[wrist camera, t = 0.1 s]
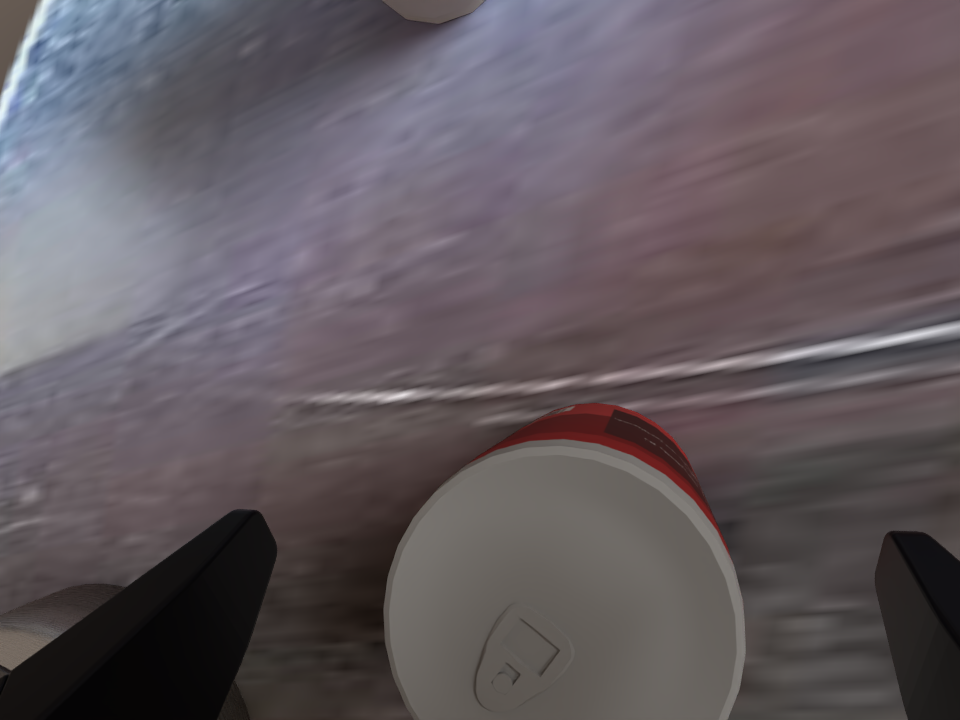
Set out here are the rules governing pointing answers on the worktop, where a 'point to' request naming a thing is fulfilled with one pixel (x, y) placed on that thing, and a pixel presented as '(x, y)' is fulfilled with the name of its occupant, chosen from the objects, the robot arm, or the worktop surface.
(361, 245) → the worktop surface
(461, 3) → the foam cup
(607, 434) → the canned food
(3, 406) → the worktop surface
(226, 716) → the pot
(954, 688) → the robot arm
